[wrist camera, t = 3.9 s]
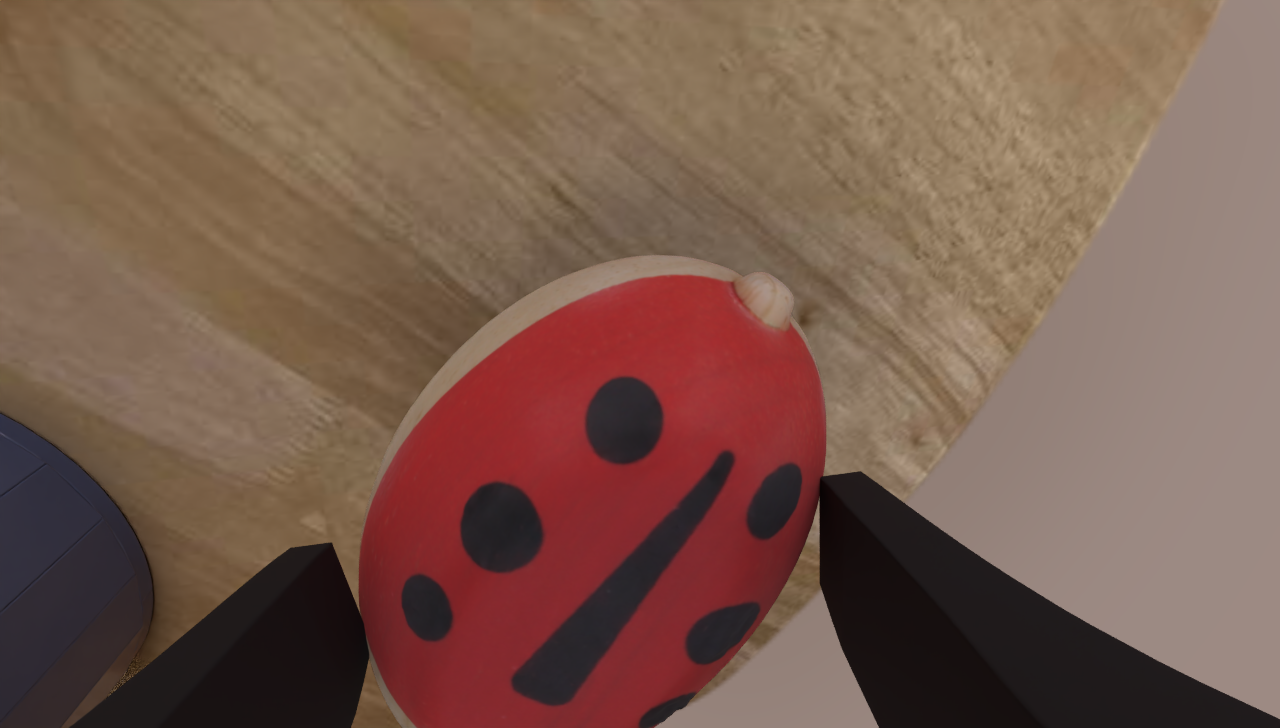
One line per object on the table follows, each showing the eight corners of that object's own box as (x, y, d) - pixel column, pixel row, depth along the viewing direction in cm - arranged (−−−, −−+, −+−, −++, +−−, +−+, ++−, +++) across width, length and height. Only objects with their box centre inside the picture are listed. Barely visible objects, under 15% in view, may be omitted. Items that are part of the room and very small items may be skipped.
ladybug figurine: (315, 603, 13) (211, 786, 9) (544, 131, 9) (506, 160, 6) (619, 714, 14) (621, 904, 11) (909, 342, 11) (1036, 457, 8)
